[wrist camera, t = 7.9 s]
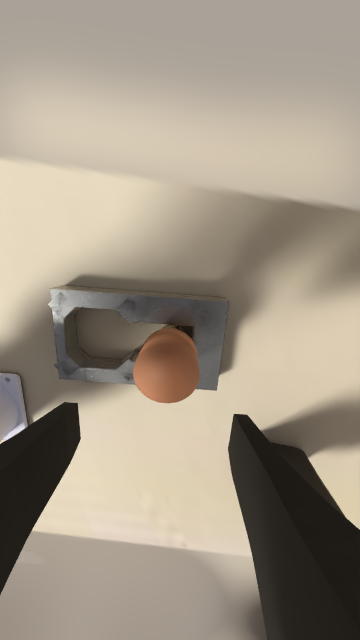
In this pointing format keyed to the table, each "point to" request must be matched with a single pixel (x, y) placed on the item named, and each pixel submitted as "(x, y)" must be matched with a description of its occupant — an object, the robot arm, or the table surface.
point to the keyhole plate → (137, 307)
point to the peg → (167, 366)
